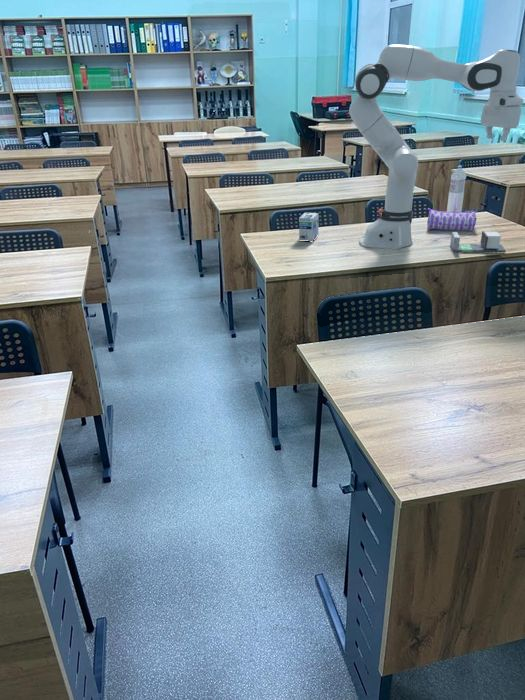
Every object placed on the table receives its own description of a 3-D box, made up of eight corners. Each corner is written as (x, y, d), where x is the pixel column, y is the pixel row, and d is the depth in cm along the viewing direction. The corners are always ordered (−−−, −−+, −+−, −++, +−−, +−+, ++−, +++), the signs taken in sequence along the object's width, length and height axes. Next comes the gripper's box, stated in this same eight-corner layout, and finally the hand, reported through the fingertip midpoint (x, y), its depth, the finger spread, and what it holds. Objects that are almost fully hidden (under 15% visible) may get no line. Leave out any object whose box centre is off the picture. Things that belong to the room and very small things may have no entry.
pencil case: (474, 227, 242) (478, 207, 238) (476, 233, 235) (480, 212, 230) (425, 226, 248) (427, 206, 243) (425, 231, 240) (427, 211, 235)
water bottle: (461, 220, 254) (468, 166, 242) (446, 220, 255) (453, 167, 244) (459, 217, 260) (466, 164, 248) (445, 217, 261) (451, 164, 250)
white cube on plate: (484, 249, 208) (486, 236, 206) (480, 243, 216) (482, 231, 213) (499, 249, 207) (501, 237, 205) (494, 243, 215) (496, 231, 212)
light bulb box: (313, 242, 231) (313, 218, 226) (298, 241, 233) (298, 217, 228) (318, 236, 240) (319, 212, 235) (304, 235, 242) (304, 212, 237)
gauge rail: (452, 252, 211) (454, 237, 208) (449, 246, 218) (451, 232, 215) (505, 253, 208) (508, 237, 205) (500, 247, 215) (503, 232, 212)
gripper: (479, 99, 201) (474, 137, 208) (509, 101, 183) (503, 143, 190) (494, 98, 202) (489, 136, 209) (526, 99, 184) (519, 141, 191)
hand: (496, 139), depth 199 cm, fingers open, 8 cm apart
